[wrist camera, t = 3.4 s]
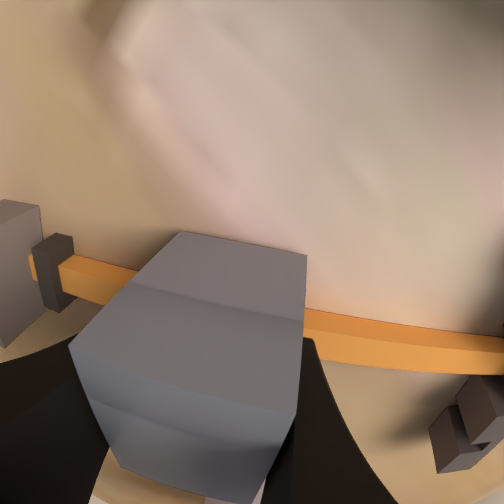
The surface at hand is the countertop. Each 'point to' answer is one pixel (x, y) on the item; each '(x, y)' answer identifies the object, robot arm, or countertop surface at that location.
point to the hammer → (115, 278)
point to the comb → (469, 424)
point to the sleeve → (199, 364)
